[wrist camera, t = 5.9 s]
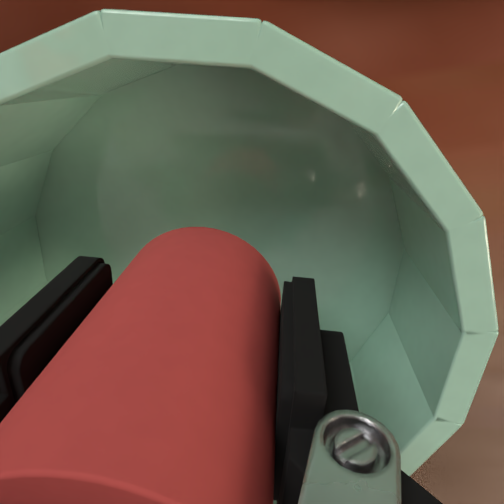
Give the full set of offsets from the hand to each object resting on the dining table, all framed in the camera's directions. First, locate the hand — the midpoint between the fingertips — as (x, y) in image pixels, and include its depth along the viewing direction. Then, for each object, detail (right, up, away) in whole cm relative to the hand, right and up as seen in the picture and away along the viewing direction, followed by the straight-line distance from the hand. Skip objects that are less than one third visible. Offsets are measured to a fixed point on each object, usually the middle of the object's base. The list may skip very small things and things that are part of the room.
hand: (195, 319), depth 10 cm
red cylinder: (0, 0, +1) cm, 1 cm away
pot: (0, +1, +5) cm, 5 cm away
